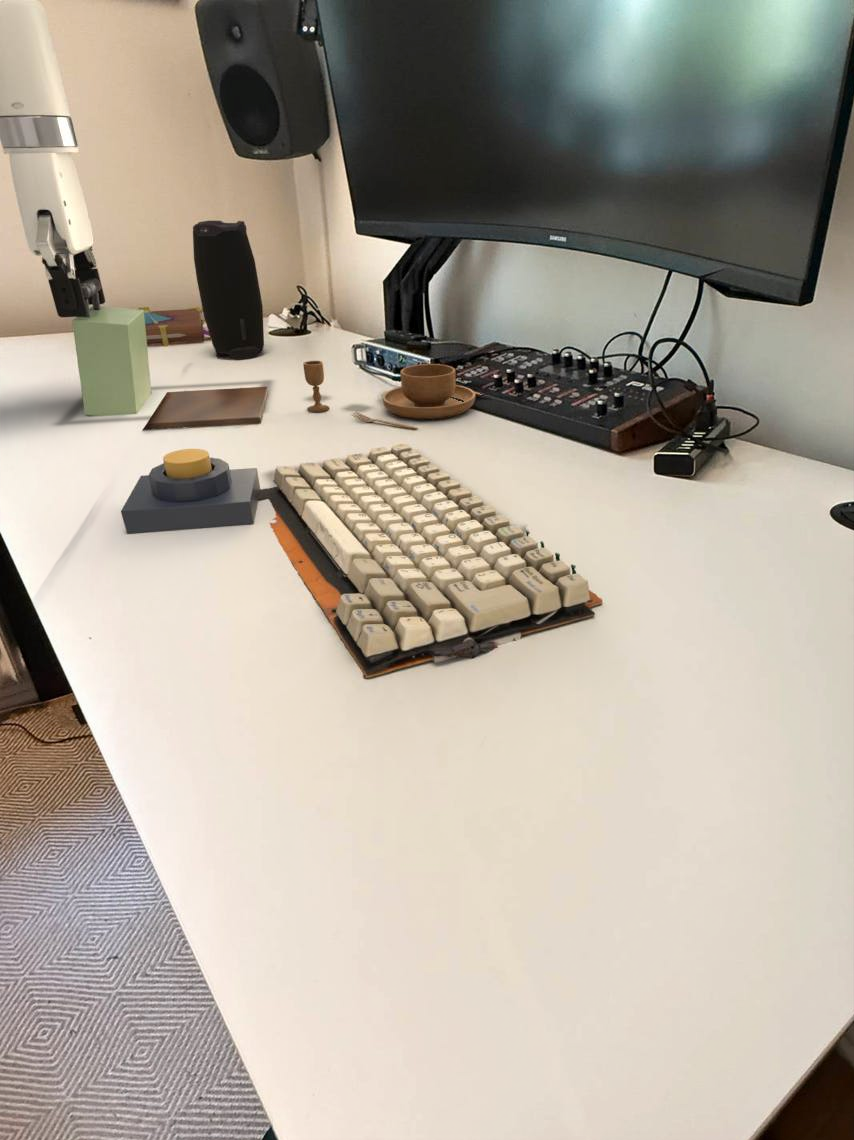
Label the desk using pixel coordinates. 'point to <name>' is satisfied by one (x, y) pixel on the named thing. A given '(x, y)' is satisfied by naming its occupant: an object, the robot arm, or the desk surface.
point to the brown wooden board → (209, 408)
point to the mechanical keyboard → (416, 561)
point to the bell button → (187, 463)
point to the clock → (111, 357)
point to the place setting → (409, 393)
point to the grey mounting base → (192, 500)
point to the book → (174, 325)
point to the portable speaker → (229, 288)
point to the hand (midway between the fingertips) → (83, 309)
